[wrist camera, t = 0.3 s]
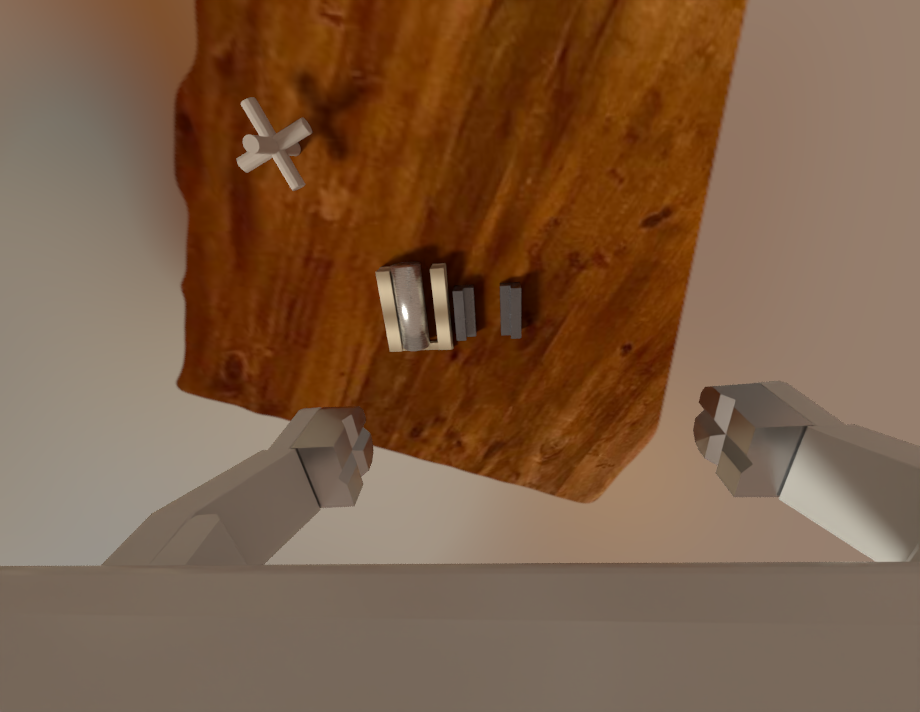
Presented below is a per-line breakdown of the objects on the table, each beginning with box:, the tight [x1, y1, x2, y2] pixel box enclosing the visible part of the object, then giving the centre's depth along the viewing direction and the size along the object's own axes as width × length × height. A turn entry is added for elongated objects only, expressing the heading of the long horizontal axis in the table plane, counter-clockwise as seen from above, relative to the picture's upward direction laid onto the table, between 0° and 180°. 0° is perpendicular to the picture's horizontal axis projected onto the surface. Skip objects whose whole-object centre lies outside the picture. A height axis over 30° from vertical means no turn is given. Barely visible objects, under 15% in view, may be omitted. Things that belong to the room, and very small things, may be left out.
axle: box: [390, 261, 430, 351], centre depth 56 cm, size 13×4×4 cm, turn 4°
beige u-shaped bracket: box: [376, 263, 453, 352], centre depth 57 cm, size 14×10×3 cm
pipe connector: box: [237, 97, 312, 191], centre depth 44 cm, size 10×10×10 cm
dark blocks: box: [453, 282, 521, 341], centre depth 56 cm, size 8×10×3 cm
